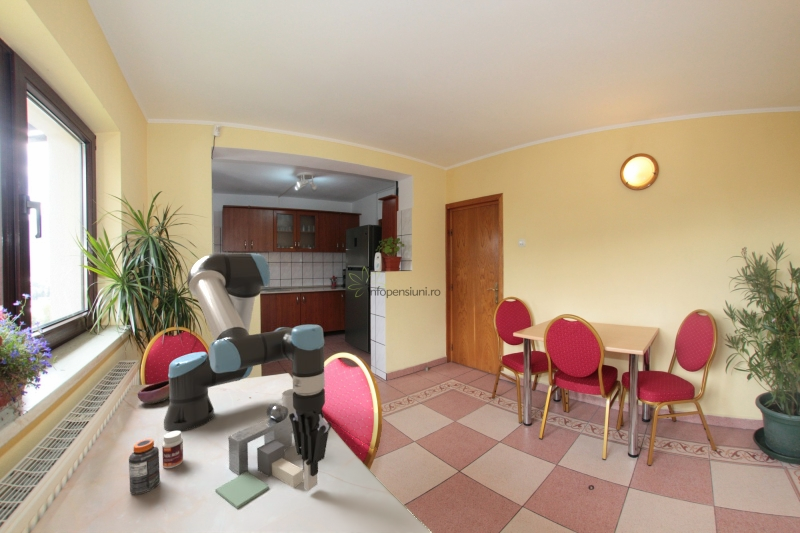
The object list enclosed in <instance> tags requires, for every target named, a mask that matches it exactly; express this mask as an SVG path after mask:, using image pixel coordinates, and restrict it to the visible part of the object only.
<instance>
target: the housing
mask: <svg viewBox="0 0 800 533" xmlns="http://www.w3.org/2000/svg"><path fill="white" fill-rule="evenodd" d="M266 415H267V416H268V418H266V419H264V420H262V421H260V422H257V423H255V424H253V425H250V426H248V427H246V428H244V429H242V430H239V431H238V432H236V433H233V434H230V435H228V466H229V467H228V469H229V470H230V471H231V472H233V473H234V474H236V475H237V476H240V475H242V474H243V473H245V472H249V452H248V451H249V450H248V449H249V448H248V447H249V446H248V445H249V443H251V442H253V441H255V440H257V439H258V438H260V437H263V438H264V439H263V440H264V444H266V443H268V442H270V441H272V440H275V441H277V442H279V443H281V444H283V445H285V451H286V450H288V449H289V448H291V447H292V446H293V432H292V423H291V420H290V418H289V415H288V408H287V407H284V406H283V405H282V404H279V403H276V402H273V403H271V404H269V405H268V407H267V410H266ZM264 444H263V445H264Z"/></svg>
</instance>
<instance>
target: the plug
mask: <svg viewBox="0 0 800 533" xmlns="http://www.w3.org/2000/svg"><path fill="white" fill-rule="evenodd" d="M256 450H257V452H256V453H257V456H256V458H257V462H256V463H257V471H258V472H260V473H261V474H263V475H265V477H268V478H269V477H271V476H273V477H274V478H276V479H278V480H279V481H282V482H283V483H285V484H287V485H288V486H289V487H291V488H292V489H294V488H296V487H297V486H298V485H299V484H301V483H302V482H304V471H303V468H302V467H299V466H298V465H295V464H293V463H292V462H290V461H289V460H287V459H286V455H285V454H286V453H285V451H286V450H285V445H283V444H281V443H279V442H277V441H275V440H272V441H270V442H268V443H266V444H263V445H261V446H258V447H256Z"/></svg>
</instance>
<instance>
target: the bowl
mask: <svg viewBox="0 0 800 533" xmlns="http://www.w3.org/2000/svg"><path fill="white" fill-rule="evenodd" d="M137 397H138V400H139V401H140V402H142V403H144V404H151V403H152V404H156V403H157V402H158V403H160V402H164V401H166V400H167V399H168V398H170V397H169V379H166V380H163V381H159V382H155V383H152V384H149V385H147V386H145V387H143V388H142V389H140V390H139V391H138V393H137ZM163 400H164V401H163Z"/></svg>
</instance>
